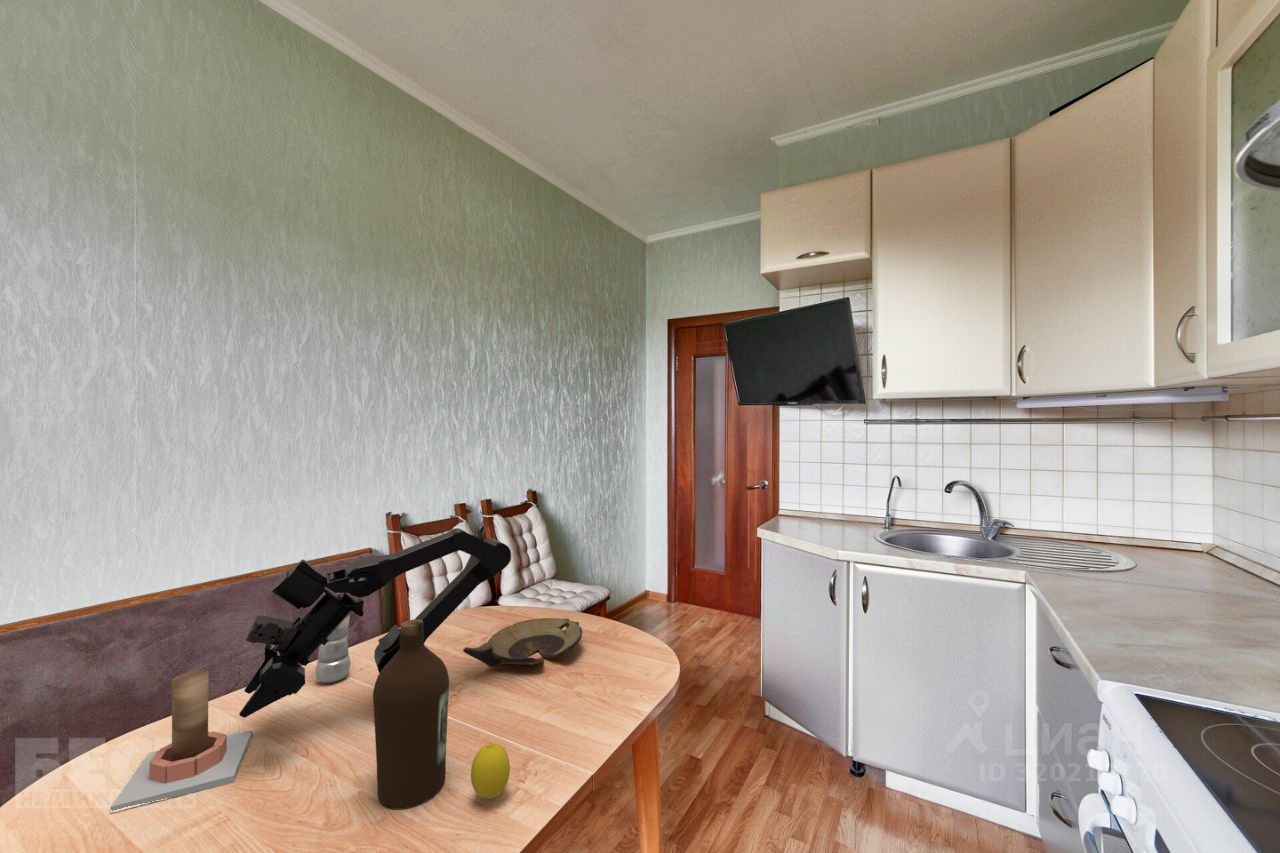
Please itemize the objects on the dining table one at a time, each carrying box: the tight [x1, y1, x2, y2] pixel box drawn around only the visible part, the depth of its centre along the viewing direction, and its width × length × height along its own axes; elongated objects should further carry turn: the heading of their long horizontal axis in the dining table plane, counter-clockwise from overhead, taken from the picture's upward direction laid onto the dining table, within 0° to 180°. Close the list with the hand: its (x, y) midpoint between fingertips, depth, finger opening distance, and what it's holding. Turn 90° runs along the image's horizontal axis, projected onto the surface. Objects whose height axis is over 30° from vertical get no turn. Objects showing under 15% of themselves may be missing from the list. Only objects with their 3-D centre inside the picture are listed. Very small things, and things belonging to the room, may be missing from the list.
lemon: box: [470, 742, 511, 800], centre depth 75 cm, size 6×6×8 cm
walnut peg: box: [171, 669, 209, 762], centre depth 82 cm, size 4×4×14 cm
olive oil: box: [372, 618, 450, 810], centre depth 78 cm, size 11×11×25 cm
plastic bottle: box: [315, 593, 352, 684], centre depth 112 cm, size 6×7×20 cm
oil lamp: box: [462, 617, 583, 668], centre depth 123 cm, size 22×30×8 cm
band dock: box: [110, 729, 253, 811], centre depth 82 cm, size 14×14×4 cm
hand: (244, 703), depth 86 cm, fingers open, 9 cm apart
